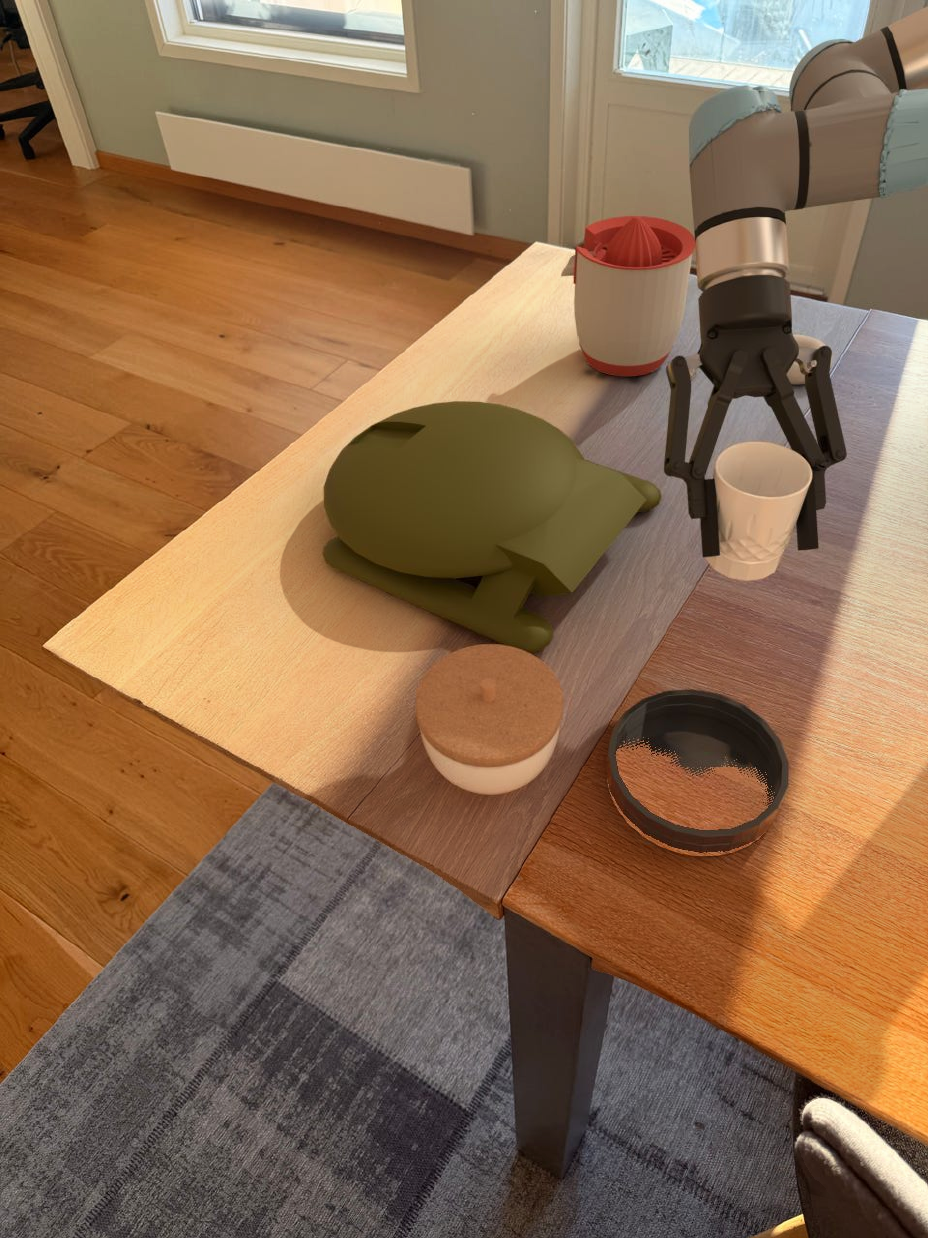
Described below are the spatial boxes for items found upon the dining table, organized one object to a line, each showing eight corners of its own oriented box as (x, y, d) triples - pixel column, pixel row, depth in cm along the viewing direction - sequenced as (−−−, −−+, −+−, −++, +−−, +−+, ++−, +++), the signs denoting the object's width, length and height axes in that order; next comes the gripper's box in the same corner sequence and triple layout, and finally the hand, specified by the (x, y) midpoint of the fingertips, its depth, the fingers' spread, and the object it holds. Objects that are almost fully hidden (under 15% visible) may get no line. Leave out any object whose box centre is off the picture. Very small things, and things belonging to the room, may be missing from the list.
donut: (744, 378, 125) (817, 396, 121) (748, 356, 123) (823, 373, 119) (768, 345, 131) (838, 360, 127) (772, 323, 128) (844, 338, 124)
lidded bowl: (522, 842, 77) (522, 769, 69) (397, 784, 82) (383, 709, 74) (582, 735, 85) (588, 658, 77) (464, 688, 89) (459, 610, 81)
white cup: (741, 599, 79) (763, 510, 72) (679, 549, 84) (695, 462, 77) (804, 563, 82) (833, 474, 75) (741, 517, 87) (762, 429, 79)
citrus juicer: (571, 323, 138) (577, 186, 123) (687, 336, 133) (707, 197, 119) (546, 377, 127) (549, 235, 113) (670, 393, 123) (689, 248, 109)
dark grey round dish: (783, 729, 84) (791, 705, 82) (777, 875, 74) (786, 853, 72) (619, 700, 87) (622, 676, 85) (593, 836, 77) (595, 814, 75)
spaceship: (667, 499, 108) (678, 429, 101) (537, 667, 91) (538, 598, 84) (427, 415, 122) (422, 350, 115) (275, 547, 105) (258, 480, 98)
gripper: (843, 292, 81) (858, 546, 82) (615, 308, 81) (632, 563, 82) (883, 261, 74) (899, 542, 74) (631, 279, 74) (650, 559, 74)
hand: (759, 552), depth 78 cm, fingers closed on white cup, 8 cm apart
